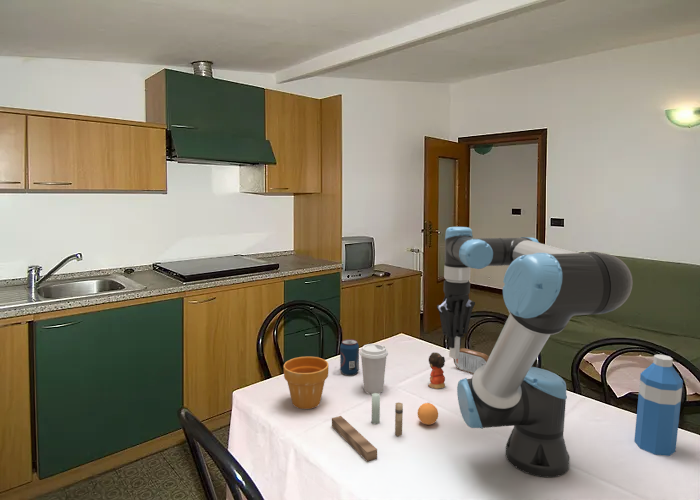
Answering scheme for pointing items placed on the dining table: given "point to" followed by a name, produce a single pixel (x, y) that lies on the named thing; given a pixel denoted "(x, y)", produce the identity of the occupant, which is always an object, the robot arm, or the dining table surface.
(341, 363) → the soda can
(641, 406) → the water bottle
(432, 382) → the figurine
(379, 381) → the coffee cup
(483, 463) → the dining table surface
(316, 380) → the flower pot
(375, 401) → the side pin
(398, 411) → the pin
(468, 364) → the tin
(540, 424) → the robot arm
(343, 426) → the brown wooden bar
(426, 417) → the ball
